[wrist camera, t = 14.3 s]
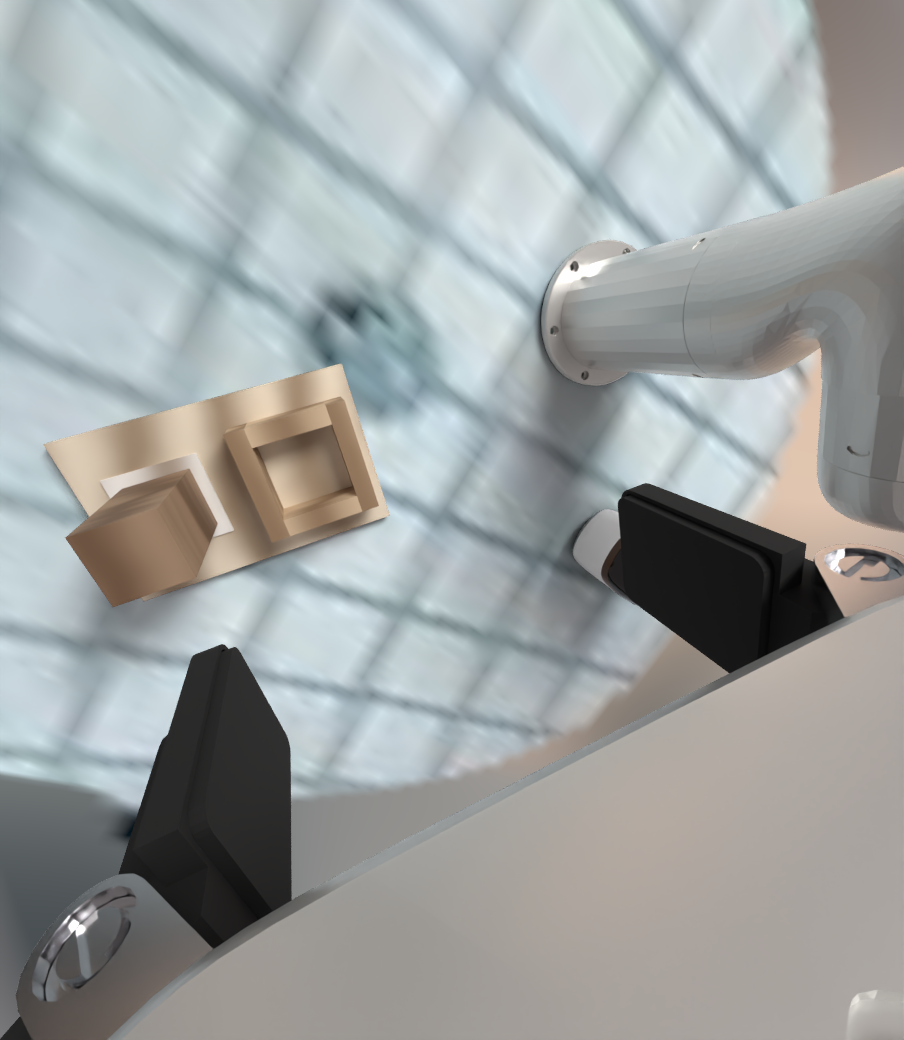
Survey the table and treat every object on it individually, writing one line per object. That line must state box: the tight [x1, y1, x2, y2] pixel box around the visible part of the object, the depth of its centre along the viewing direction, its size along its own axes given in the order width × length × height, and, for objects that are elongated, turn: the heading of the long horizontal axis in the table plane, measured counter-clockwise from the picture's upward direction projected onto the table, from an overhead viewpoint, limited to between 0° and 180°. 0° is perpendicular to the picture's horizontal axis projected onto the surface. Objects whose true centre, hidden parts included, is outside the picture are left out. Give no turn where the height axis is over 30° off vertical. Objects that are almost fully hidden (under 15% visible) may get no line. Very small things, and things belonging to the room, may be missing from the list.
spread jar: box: [572, 509, 638, 606], centre depth 49 cm, size 12×11×12 cm
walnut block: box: [66, 469, 218, 607], centre depth 32 cm, size 5×5×10 cm
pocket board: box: [44, 364, 390, 601], centre depth 37 cm, size 22×14×4 cm, turn 104°
